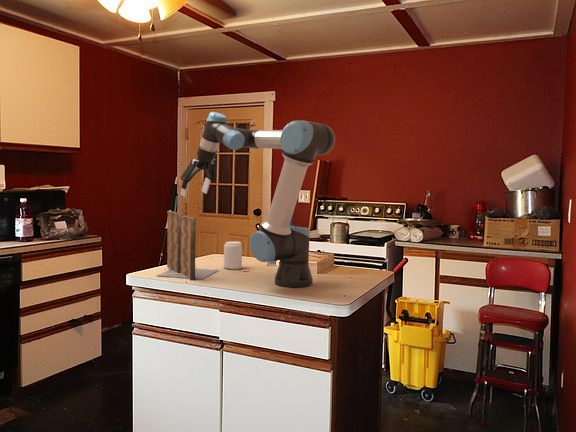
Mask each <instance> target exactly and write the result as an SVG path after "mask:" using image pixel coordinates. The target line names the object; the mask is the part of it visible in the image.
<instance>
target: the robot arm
mask: <svg viewBox="0 0 576 432" xmlns="http://www.w3.org/2000/svg"><path fill="white" fill-rule="evenodd" d="M227 121H228V118H227V117H226V115H225V114H223V113H221V112H220V113H219V112H218V111H217V112H215V111H210V112H209V113H208V116H207V119H206V123H205V127H204V128H203V132H202V136H201V139H200V143H199V146H198V149H197V152H196V156H197V158H196V159H194V158H191V159H190V162H189V164H188V165H187V167H186V168H185V170H184V172H183V174H182V175H181V176H180V180H182V184H181V189H180V193H179V195H181V196H182V197H185V198H186V196H187V194H188V190H189V188H190V184H191V183H190V181H191V180H192V179H193V178H194V177H195V176H196V174H197V173H199V172H201V171H203V170H204V171H205V175H206V177H205V178H204V181H203V185H202V188H201V192H202V193H203V194H205V195H207V194H208V191H209V188H210V186H211V182H212V181H213V182H214V181H215V179H216V177H217V170H216V169H217V167H216V166H217V165H216V164H217V159H215V157H216V154H217V151H218V149H219V146H220V143H221V144H223V145H224V146H225V147H227V148H228V149H230V150H231V151H232V150H233V151H237V150H240V149H241V148H249V149H255V150H258V149H270V150H271V149H272V150H274V149H275V150H282V152H281V155H282V157H283V159H284V161H283V164H282V165H283V166H282V168H281V171H280V175H279V178H278V181H277V185H276V188H275V190H274V195H273V198H272V200H271V205H270V209H269V211H268V214H267V219H266V220H263V221H262V222H261V223H260V226H259V230H257V231H255V232H253V233H252V235H251V236H250V239H249V249H250V251H251V254H252V256H253V257H254V258H255V259H256V260H257V261H259V262H260V263H268V262H272V261H277V260H280V262H279V267H277V269H276V273H275V276H274V284H275V285H277V286H280V287H286V288H306V287H310V286H312V285H313V275H312V272H311V269H310V264H309V262H310V261H309V259H310V239H311V237H310V230H309V228H308V227H304V226H303V227H302V226H295V225H292V226H289V224H290V221H291V218H292V215H293V214H294V211H295V207H296V205H297V203H298V202H297V201H298V199H299V195H300V192H301V189H302V185H303V182H304V179H305V176H306V173H307V170H308V167H309V166H311V165H313V164H314V162H315V159H316V157H317V156H324V155H327V154H329V153H330V152H331V151H332V150H333V149H334V147H335V143H336V136H335V133H334V130H333V129H332V128H331V127H330V126H329V125H327V124H325V123H322V122H321V123H320V122H314V121H313V122H312V121H307V120H302V119H301V120H292V121H290V122H288V123H287V124H286V125H285V126H284V127H283V129H279V130H278V129H246V128H245V129H244V128H238V127H237V128H236V127H232V126H231V125H229V124H227ZM293 216H294V215H293Z"/></svg>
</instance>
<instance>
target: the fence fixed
mask: <svg viewBox="0 0 576 432" xmlns="http://www.w3.org/2000/svg"><path fill="white" fill-rule="evenodd" d="M177 213H178V243H177V273H181V274H182V275H185V276H187V277H188V278H189V280H190V281H195V280H196V279H195V269H196V239H197V238H196V235H197V234H196V231H197V230H196V229H197V227H196V225H197V224H196V217H192V216H191V217H190V216H187V215H184V213H183V212H177Z"/></svg>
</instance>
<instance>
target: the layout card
mask: <svg viewBox="0 0 576 432" xmlns="http://www.w3.org/2000/svg"><path fill="white" fill-rule="evenodd" d="M217 272H219V269H207V268H206V269H205V268H195V280H204V279H206V278H208V277H210V276H212V275H214V274H216V273H217ZM156 277H160V278H173V279H175V278H176V279H189V278H188V277H187V276H185V275H182V274H181V273H177V271H175V270H173V269H171V268H170V269H169V270H166V271H164V272H161V273H159V274H157V275H156ZM189 280H190V279H189Z"/></svg>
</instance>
